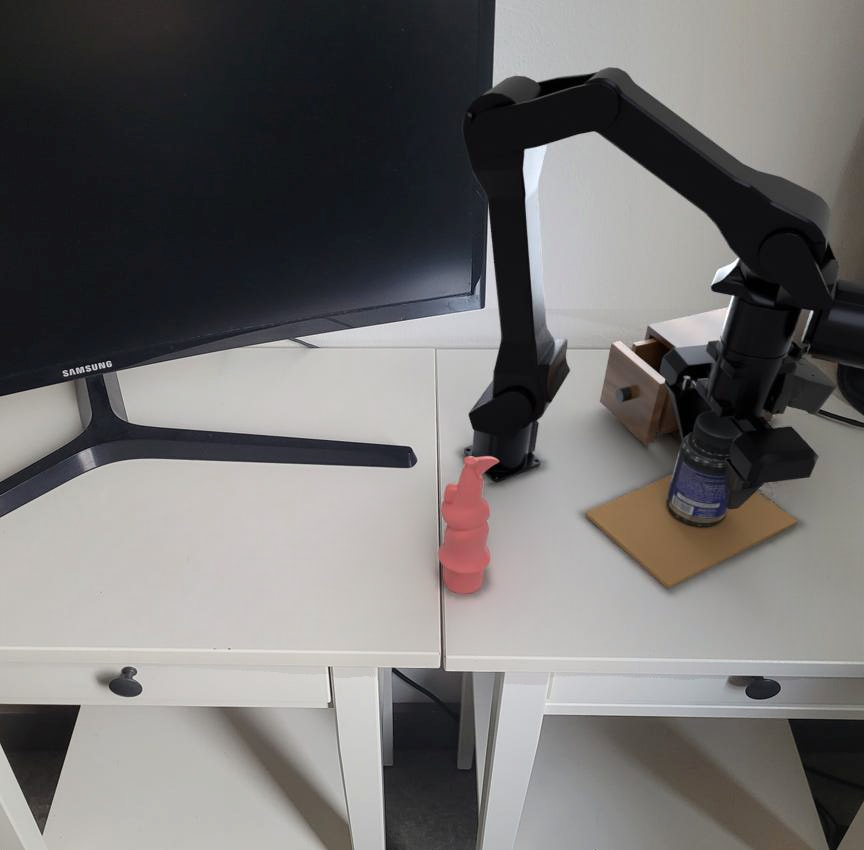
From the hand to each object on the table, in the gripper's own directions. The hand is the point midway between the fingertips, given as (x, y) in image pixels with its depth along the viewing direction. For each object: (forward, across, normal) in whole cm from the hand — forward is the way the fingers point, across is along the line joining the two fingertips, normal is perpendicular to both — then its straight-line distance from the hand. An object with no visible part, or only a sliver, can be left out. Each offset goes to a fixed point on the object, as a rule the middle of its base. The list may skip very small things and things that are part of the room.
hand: (710, 477), depth 82 cm
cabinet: (+5, +18, -9) cm, 21 cm away
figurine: (+6, -4, +26) cm, 27 cm away
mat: (+5, 0, +1) cm, 5 cm away
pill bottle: (+5, +1, 0) cm, 5 cm away
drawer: (+4, +17, -3) cm, 18 cm away
